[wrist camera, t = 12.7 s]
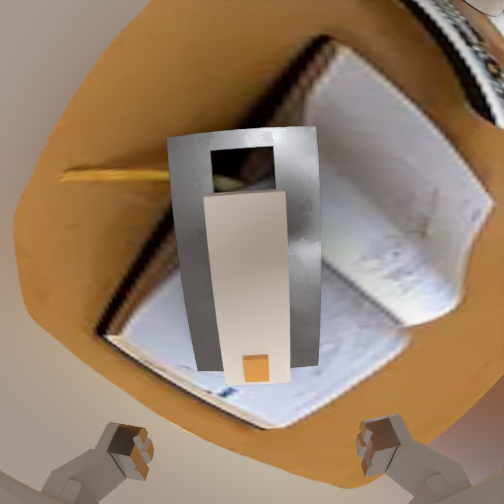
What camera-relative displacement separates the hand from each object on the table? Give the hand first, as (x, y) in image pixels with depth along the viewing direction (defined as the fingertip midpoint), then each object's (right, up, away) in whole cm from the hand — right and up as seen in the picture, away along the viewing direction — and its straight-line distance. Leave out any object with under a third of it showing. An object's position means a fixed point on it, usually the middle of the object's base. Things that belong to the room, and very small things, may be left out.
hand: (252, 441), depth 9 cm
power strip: (0, +5, +20) cm, 20 cm away
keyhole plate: (0, +7, +20) cm, 21 cm away
